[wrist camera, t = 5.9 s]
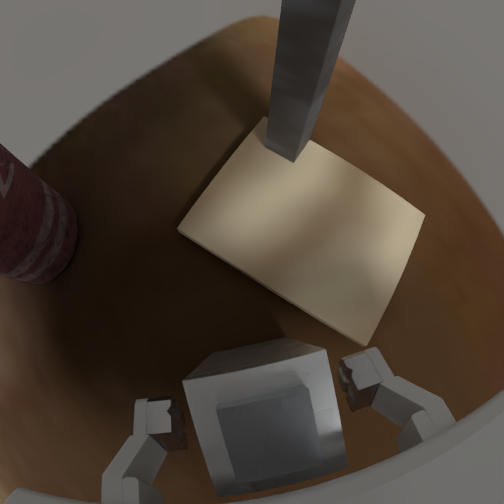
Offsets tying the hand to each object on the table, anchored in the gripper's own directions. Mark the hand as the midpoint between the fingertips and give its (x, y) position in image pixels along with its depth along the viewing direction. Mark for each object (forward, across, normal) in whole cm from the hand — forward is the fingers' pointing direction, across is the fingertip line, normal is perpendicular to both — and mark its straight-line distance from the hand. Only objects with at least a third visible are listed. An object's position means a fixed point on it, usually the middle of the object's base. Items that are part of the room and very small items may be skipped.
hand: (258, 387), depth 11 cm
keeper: (+9, -5, -3) cm, 11 cm away
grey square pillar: (+3, 0, +4) cm, 5 cm away
